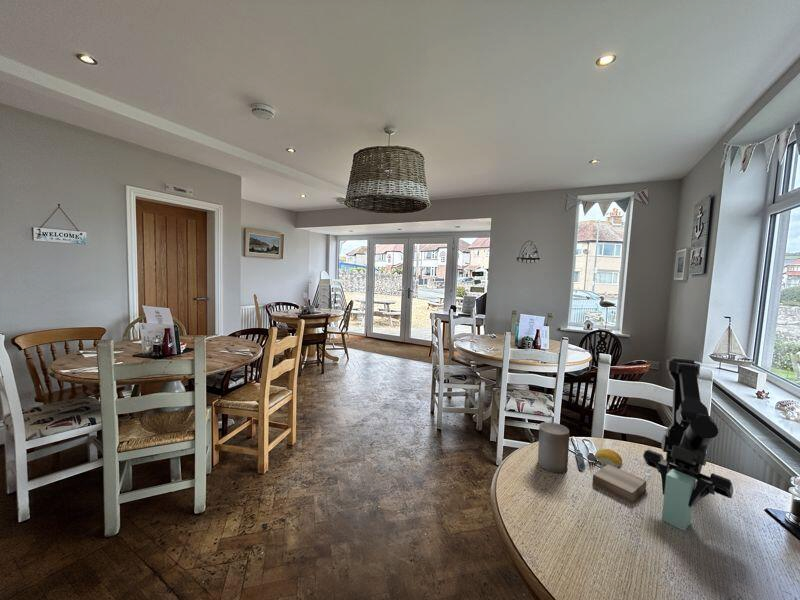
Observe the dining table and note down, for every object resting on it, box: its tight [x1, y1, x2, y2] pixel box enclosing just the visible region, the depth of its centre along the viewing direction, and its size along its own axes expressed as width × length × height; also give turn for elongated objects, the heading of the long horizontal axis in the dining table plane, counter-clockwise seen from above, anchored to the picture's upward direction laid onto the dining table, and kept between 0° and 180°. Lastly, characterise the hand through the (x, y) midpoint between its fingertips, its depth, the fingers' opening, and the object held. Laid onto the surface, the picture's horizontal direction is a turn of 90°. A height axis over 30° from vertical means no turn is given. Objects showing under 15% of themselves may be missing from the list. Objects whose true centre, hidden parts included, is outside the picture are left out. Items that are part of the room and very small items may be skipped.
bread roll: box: [594, 448, 623, 468], centre depth 121 cm, size 8×9×4 cm
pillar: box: [661, 469, 696, 532], centre depth 90 cm, size 5×5×13 cm
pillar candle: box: [537, 421, 570, 474], centre depth 116 cm, size 10×10×15 cm
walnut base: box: [592, 464, 647, 503], centre depth 106 cm, size 11×11×3 cm
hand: (676, 500), depth 90 cm, fingers closed on pillar, 5 cm apart
